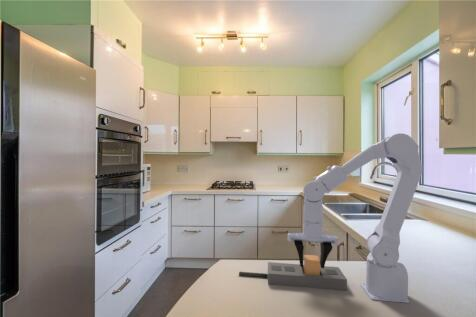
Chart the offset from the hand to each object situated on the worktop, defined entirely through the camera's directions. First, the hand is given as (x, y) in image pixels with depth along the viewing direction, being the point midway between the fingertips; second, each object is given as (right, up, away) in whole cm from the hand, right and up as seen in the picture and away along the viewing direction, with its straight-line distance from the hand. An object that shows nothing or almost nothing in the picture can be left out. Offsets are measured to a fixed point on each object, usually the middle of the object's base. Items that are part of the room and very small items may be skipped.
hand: (311, 266), depth 74 cm
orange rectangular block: (0, -5, 0) cm, 4 cm away
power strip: (-7, -4, +1) cm, 8 cm away
